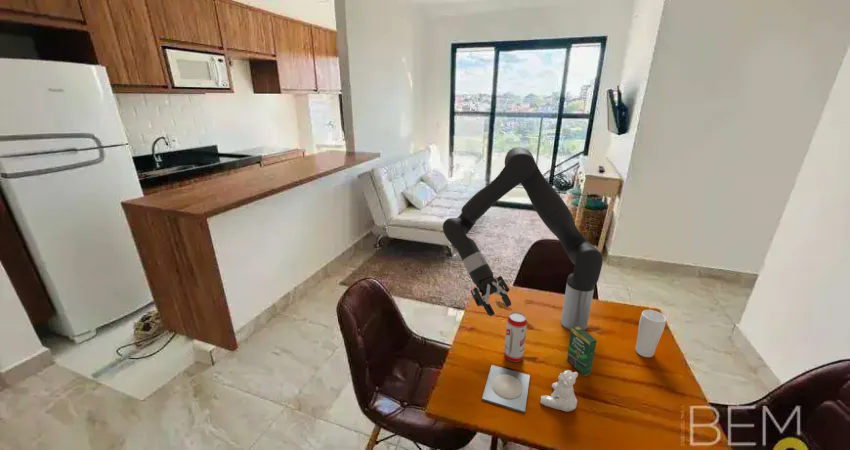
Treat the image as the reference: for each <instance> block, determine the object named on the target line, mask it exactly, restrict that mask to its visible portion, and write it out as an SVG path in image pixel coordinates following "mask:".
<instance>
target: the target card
mask: <svg viewBox="0 0 850 450" xmlns="http://www.w3.org/2000/svg"><path fill="white" fill-rule="evenodd" d="M489 369H490V370H489V373H488V376H487V380H486V382H485V383H486V384H485V387H484V389H483V394H482V398H481V401H484V402H486V403H491V404H493V405H496V406H500V407H502V408H506V409H510V410H513V411H516V412H519V413H523V414H526V409H527V408H526V407H527V400H528V393H529V387H530V378H531V375H530V374H528V373H527V374H526V373H524V372H520V371H516V370H512V369H510V368H509V369H507V368H505V367H500V366H497V365H493V364H491V367H490V368H489Z"/></svg>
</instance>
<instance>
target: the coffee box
mask: <svg viewBox="0 0 850 450" xmlns="http://www.w3.org/2000/svg"><path fill="white" fill-rule="evenodd" d="M568 345H569V346H568V352H567V357H566V359H567V360H566V361H568V363H569V364H571V365H572V366H573V367H574V368H575V369H576V370H577V372H579V373H580V374H581V375H582V376H583V377H586V376H589V375H590V374H591V372H592V368H593V367H592V366H593V361H594V356H595V350H596V346H597V339H596V338H595V337H593V336H592V335H591V334H589V333H588V332H587V331H586V330H583V329H582V328H580V327H579V326H575V327H572V329H571V330H570V338H569V344H568Z"/></svg>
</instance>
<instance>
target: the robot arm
mask: <svg viewBox="0 0 850 450" xmlns="http://www.w3.org/2000/svg"><path fill="white" fill-rule="evenodd" d="M519 185H521V186H522V188H524V190H525V193H526V194H527V196H528V199H529V200H530V201H529V202H530V203H531V205H532V207H533V209H534V210H535V212H536V213H537V215H538V217H539V218H540V220H541V221H542V223H544V224H545V225H544V226H546V227H547V229H548V230H549V231H550V232H551V233H552V234H553V235H554V237H555V236H556V238H557V239H558V240H559V242H560V244H561V246H562V247H563V249H564V251H565V252H566V254H567V256H568V257H567V258H568V259H569V260H570V262H571V263H572V264H573V265H574V267H573V273H570V274H569V275H568V276H567V280H566V287H565V293H564V298H563V305H562V312H561V318H560V323H561V325H562V326H563V328H565V329H567V330H569V331H571V329H572V327H575V326H579V327H580V328H582V329H583V330H584V331H586V330H587V327H588V323H589V317H590V313H591V312H590V311H591V306H592V303H593V298H594V297H593V296H594V293H595V292H594V291H595V287H596V284H597V283H598V282H599V279H600V275H601V271H602V267H603V261H604V260H603V259H604V258H603V255H602V253H601V252H600V251H599V249H597V248H596V247H595V246H594V244H592V243H591V242H589V241H588V240H587V239H586V237H585V236H584V235H583V234H582V233H581V232H580V230H579V229H578V227H577V225H576V222H575V220H574V217H573V214H572V212H571V210H570V208H569V207H568V206H567V204H566V203H565V201H564V200H563V199H562V196H560V194H559V193H558V192H557V191H556V189H554V187H553V186H552V184H551V183H550V182H548V180H547V179H546V178H545V176H544V175H543V173H542V172H541V170H540V169H539V166H538V164H537V163H536V160H535V158H534V155H533V154H532V152H531V151H530V150H529V149H528V148H525V147H521V146H515V147H513V148H511V149H509V150H508V151H507V153H506V155H505V158H504V167H503V168H502V169H501V171H500V172H499V174H498V175H497V176H496V177H495V178H494V179H493V180H492V181H491V182H490V183H489V184H487V185H486V186H485V187H482V189H480V190H478V191H477V192H476V193H475V194H474V195H473V196H472V197H470V199H469V200H468V201H467V202H466V203H465V204H464V205H463V206H462V207H461V213H460V214H459V216H457V217H449V218H447V219H445V220H444V222H443V224H442V232H443V234H444V236H445V238H446V239H447V241H448V242H449V243H450V244H451V245H452V246H453V248H454V249H455V250H456V251H457V253H458V255H459V257H460V259H461V261H462V262H463V265H464V268H465V270H466V272H467V273H468V275H469V278H471V280H472V283H473V284H474V285H475V286H476V287H473V288H471V289H470V294H471V296H472V298H473V300H474V302H475V304H476V306H477V307H483V308H484V310H485V312H486V314H487V315H488V316H489V317H493V316H494V315H495V314H496V313H495V311H494V309H493V307H492V305H491V303H489V299H490V296H491V295H493V294H496V295H499V296H500V297H501V300H502V302H503V303H504V305H505V306H506V307H507V308H508V307H511V306H512V300H511V299H510V298H509V296H508V293H509V292H510V290H511V289H510V288H509V286H508V284H507V283H506V281H505V279H504V278H503V277H502V276H501V275H500V276H497V277H494V272H493V270H492V268H491V267H490V265H489V263H488V261H487V260H486V258H485V256H484V255H483V254H482V252H481V250H480V248H479V247H478V245H477V244H476V242H475V240H474V239H472V238H470V237H468V235H467V234H468V233H469V232H470V231H471V230H472V228H473V227H474V226H475V224H476V223H477V222H478V220H480V218H481V217H482V216H484V214H485V213H487V212H488V210H490V209H491V208H492V207H493V206H494V205H495V204H496V203H497V202H498V201H499V200H500V199H502V198H503V197H504V196H505V195H507V194H508V193H509V192H510V191H512V190H513V189H514V188H516V187H517V186H519Z"/></svg>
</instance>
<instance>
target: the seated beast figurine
mask: <svg viewBox="0 0 850 450" xmlns="http://www.w3.org/2000/svg"><path fill="white" fill-rule="evenodd" d="M577 377H579V373H578V371H574V372H572V370H569V369H567V370H564V371H563V372H560V373H559V376H558V377H557V379H558V380H557V381H555V382H553V383H552V384H551V388H552V389H553V392H552V393H551V394H550V395H541V396H540V401H539V402H540V404H541V405H543V406H545V407H548V408H551V409H555V410H558V411H559V410H561V411H562V412H563V411H564V412H572V411H573V410H575V409H576V408H577V406H578V399H577V397H576V394H575V392H574V391H575V390H574V386H575V383H576V378H577ZM573 385H574V386H573Z"/></svg>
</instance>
